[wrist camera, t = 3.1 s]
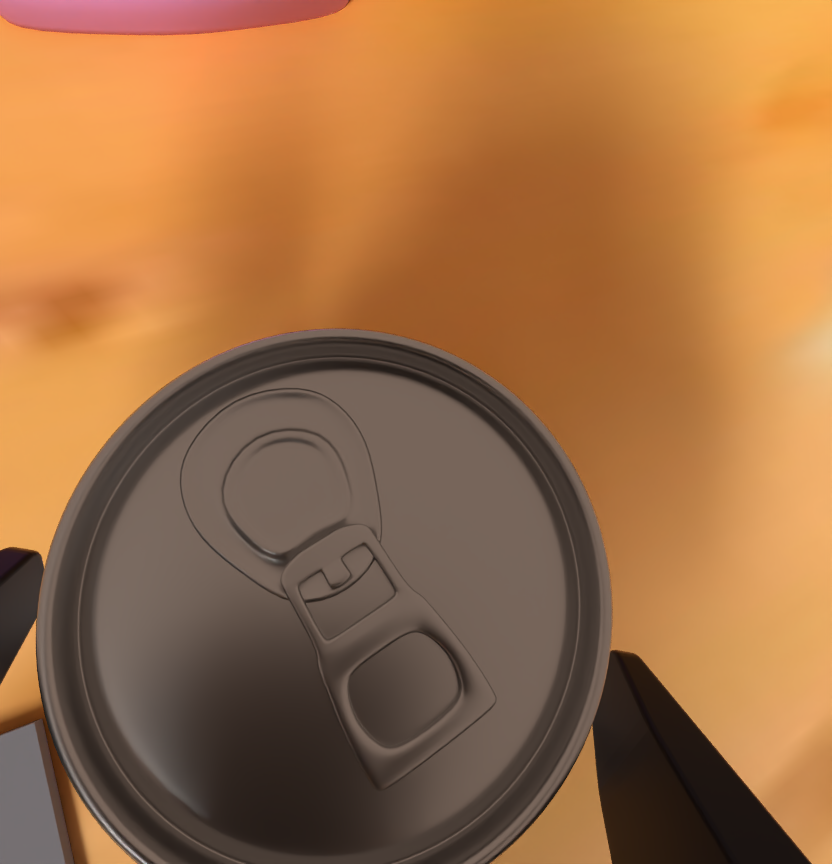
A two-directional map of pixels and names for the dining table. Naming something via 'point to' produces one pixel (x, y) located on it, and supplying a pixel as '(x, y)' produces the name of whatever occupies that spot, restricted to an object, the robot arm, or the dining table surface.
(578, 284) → the dining table surface
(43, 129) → the dining table surface
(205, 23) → the teakettle
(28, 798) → the mat
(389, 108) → the dining table surface
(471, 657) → the can
